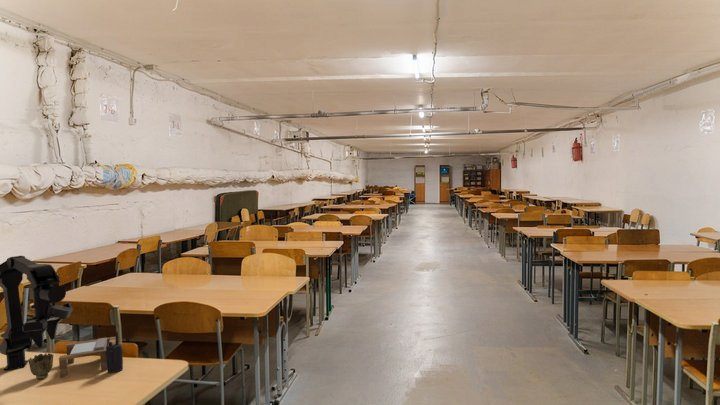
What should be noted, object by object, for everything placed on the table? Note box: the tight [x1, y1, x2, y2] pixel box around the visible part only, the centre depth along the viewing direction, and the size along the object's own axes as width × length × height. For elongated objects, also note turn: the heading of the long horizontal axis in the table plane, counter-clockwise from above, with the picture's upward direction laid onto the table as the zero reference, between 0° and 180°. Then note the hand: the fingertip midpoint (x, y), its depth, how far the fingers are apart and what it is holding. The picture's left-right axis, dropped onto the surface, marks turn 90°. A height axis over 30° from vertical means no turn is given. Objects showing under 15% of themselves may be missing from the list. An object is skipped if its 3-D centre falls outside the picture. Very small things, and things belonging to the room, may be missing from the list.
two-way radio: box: [106, 330, 124, 374], centre depth 166 cm, size 6×4×15 cm
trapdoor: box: [70, 337, 108, 354], centre depth 172 cm, size 11×11×2 cm
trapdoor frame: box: [58, 336, 116, 379], centre depth 172 cm, size 16×17×8 cm
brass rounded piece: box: [27, 352, 54, 381], centre depth 162 cm, size 8×7×8 cm
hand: (46, 343), depth 160 cm, fingers open, 9 cm apart
